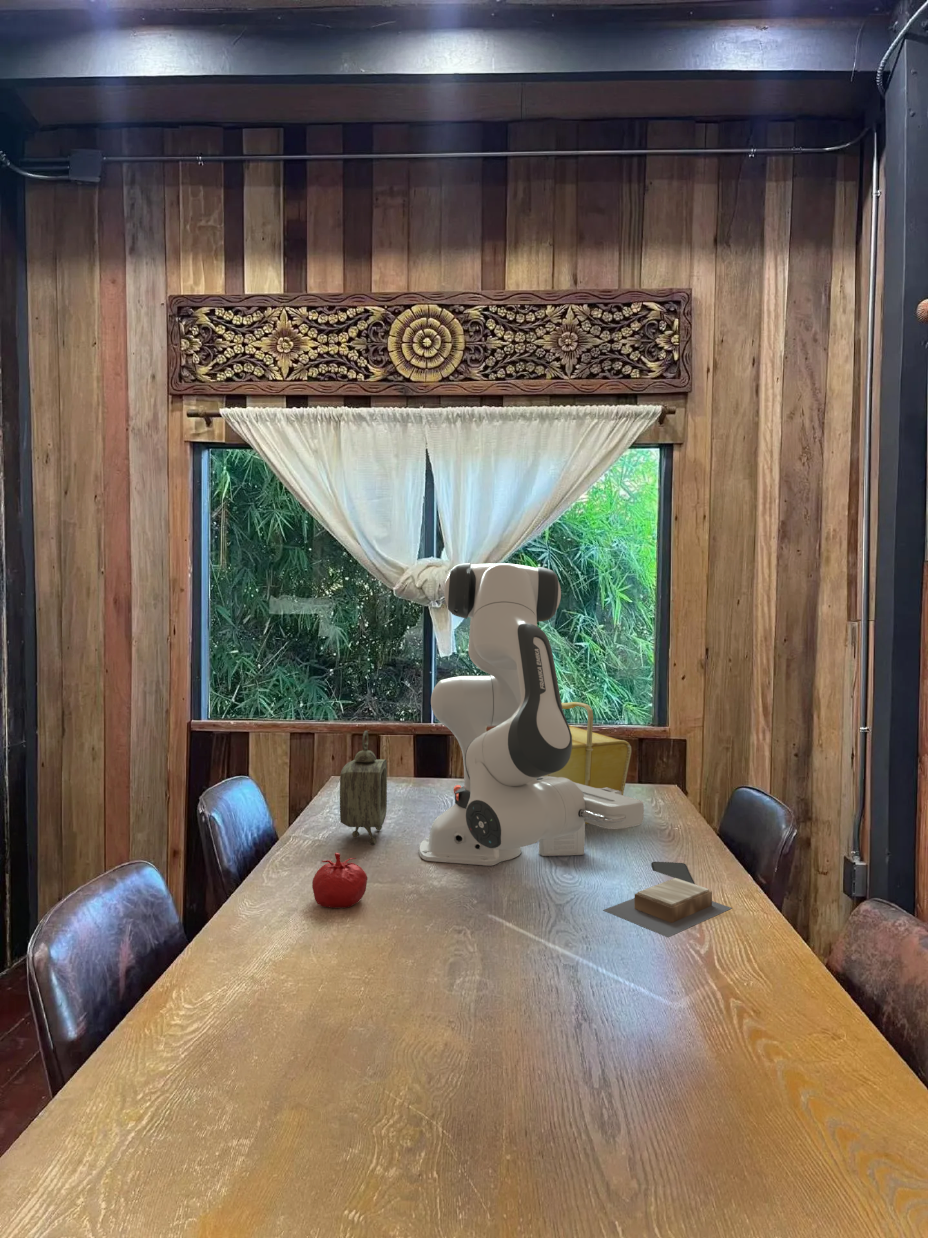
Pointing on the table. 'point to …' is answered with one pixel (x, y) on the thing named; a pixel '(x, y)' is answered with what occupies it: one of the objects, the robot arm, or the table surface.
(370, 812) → the tabletop clock
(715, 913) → the mat
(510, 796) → the robot arm
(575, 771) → the picnic basket
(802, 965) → the table surface
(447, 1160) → the table surface
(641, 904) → the wooden block
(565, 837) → the photo printer
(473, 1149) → the table surface
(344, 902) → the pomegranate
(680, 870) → the smartphone
